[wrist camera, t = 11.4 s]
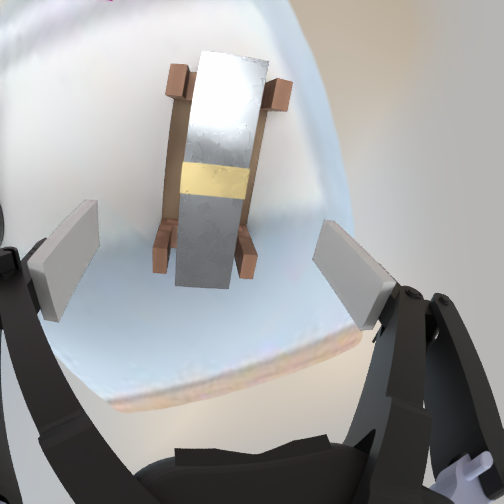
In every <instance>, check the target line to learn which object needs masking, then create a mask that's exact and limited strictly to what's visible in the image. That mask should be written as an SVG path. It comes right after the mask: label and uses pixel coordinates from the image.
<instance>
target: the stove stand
mask: <svg viewBox="0 0 504 504" xmlns="http://www.w3.org/2000/svg"><path fill="white" fill-rule="evenodd" d="M196 78H197V72H190V71H189V67H188V65H185V64H171V65H170V70H169V76H168V81H167V87H166V93H165V95H166V96H169V97H171V98H173V99H174V103H173V110H172V117H171V124H170V131H169V140H168V148H167V158H166V168H165V179H164V192H163V207H162V220H161V223H160V226H159V229H158V232H157V236H156V239H155V242H154V245H153V273H163V274H166V273H167V267H168V261H169V255H170V250H171V248H177V234H178V219H179V206H180V195H181V193H180V183H181V173H182V164H183V160H184V157H185V149H186V141H187V133H188V126H189V120H190V113H191V107H192V101H193V95H194V89H195V83H196ZM292 84H293V82H292V81H287V80H283V79H279V78H276V79H274V80H271V81H269V82H267V83H265V85H264V90H263V95H262V100H261V106H260V111H259V116H258V122H257V127H256V132H255V138H254V143H253V149H252V154H251V160H250V165H249V168H250V173H249V178H248V184H247V190H246V195H245V199H244V200H243V205H242V211H241V217H240V223H239V229H238V235H237V241H236V247H235V253H234V257H235V261H236V266H237V270H238V274H239V278H243V279H253V276H254V271H255V266H256V261H257V257H258V255H257V252H256V250H255V247H254V244H253V242H252V239H251V237H250V234H249V231H248V229H247V226H246V224H247V219H248V213H249V208H250V202H251V197H252V191H253V186H254V180H255V175H256V169H257V164H258V159H259V153H260V148H261V143H262V137H263V132H264V127H265V122H266V117H267V111H286V112H287V110H288V105H289V100H290V95H291V89H292Z"/></svg>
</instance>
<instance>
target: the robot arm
mask: <svg viewBox="0 0 504 504" xmlns="http://www.w3.org/2000/svg"><path fill="white" fill-rule="evenodd" d="M3 231H4V223H3V215H2V210H1V206H0V245H1V242H2V238H3ZM99 246H100V241H99V227H98V206H97V201H96V200H85V201H84V202H83V203H82V204H81V205H80V206H79V207H78V208H76V209H75V210H74V211H73V212H72V213H71V214H70V215H69V216H68V217H67V218H66V219H65V220H64V221H63V222H62V223H61V224H60V225H59V227H58V228H57V229H56V230H55V231H54V232H53V233H52V234H51V235H50V236H49V237H48V238H44V239H42V240H41V241H39V242H37V243H36V244H35V246H34V247H33V248H32V249H31V250H30V251H29V252H28V254H26V256H25V257H24V258H23V259H22V260H21V261H20V257H19V253H18V250H17V248H15V247H4V248H1V249H0V504H23V502H22V497H21V493H20V490H19V486H18V482H17V479H16V475H15V471H14V468H13V463H12V459H11V455H10V451H9V445H8V440H7V434H6V428H5V421H4V413H3V404H2V391H1V334H2V333H1V332H2V330H4V334H5V338H6V342H7V346H8V350H9V354H10V358H11V361H12V364H13V368H14V370H15V374H16V377H17V380H18V382H19V385H20V388H21V391H22V394H23V396H24V399H25V401H26V404H27V407H28V409H29V411H30V413H31V416H32V418H33V421H34V423H35V425H36V427H37V429H38V432H39V434H40V437H39V438H38V440H39V444H40V446H41V448H42V450H43V452H44V454H45V456H46V458H47V460H48V461H49V463H50V465H51V467H52V468H53V470H54V472H55V473H56V475H57V477H58V478H59V480H60V482H61V483H62V485H63V486H64V488H65V489H66V491H67V492H68V494H69V495H70V497H71V498H72V499H73V501H74V502H75V504H489V503H491V502H493V501H495V500H496V499H498V498H500V497H501V496H503V495H504V429H503V427H502V423H501V420H500V416H499V413H498V409H497V406H496V403H495V400H494V397H493V393H492V390H491V387H490V385H489V382H488V380H487V376H486V374H485V371H484V368H483V366H482V363H481V361H480V359H479V356H478V354H477V352H476V349H475V347H474V344H473V342H472V340H471V338H470V336H469V333H468V331H467V329H466V327H465V325H464V323H463V321H462V319H461V317H460V315H459V313H458V311H457V309H456V307H455V305H454V303H453V302H452V301H451V300H450V299H449V297H448V296H446V295H444V294H440V293H435V294H434V295H433V297H432V299H431V301H429V300H424V298H423V296H422V294H421V293H420V292H419V291H417V290H416V289H414V288H412V287H409V286H401V285H400V284H399V283H398V282H397V281H396V280H395V279H394V278H393V277H392V276H391V275H389V273H388V272H387V271H386V270H385V269H384V268H383V267H382V266H381V265H380V264H379V263H378V262H377V261H376V260H375V259H374V258H372V256H371V255H370V254H369V253H368V252H367V251H366V250H365V249H364V248H362V246H360V245H359V244H358V243H357V242H356V241H355V240H354V239H353V238H352V237H351V236H350V235H349V234H348V233H347V232H346V231H345V230H344V229H343V228H342V227H341V226H340V225H338V224H337V223H336V222H335V221H331V220H324V221H323V225H322V228H321V232H320V235H319V239H318V242H317V245H316V249H315V252H314V255H313V259H312V260H313V261H314V262H315V264H316V265H317V267H318V268H319V270H320V271H321V273H322V274H323V275H324V277H325V278H326V280H327V281H328V283H329V284H330V286H331V287H332V289H333V290H334V292H335V293H336V295H337V296H338V297H339V299H340V300H341V302H342V303H343V305H344V306H345V308H346V310H347V311H348V313H349V314H350V316H351V317H352V319H353V320H354V322H355V323H356V325H357V326H358V328H359V329H360V331H362V330H372V329H373V328H374V326H375V324H376V322H377V320H379V321H380V322H381V324H382V325H381V327H380V329H379V331H378V332H377V334H376V336H375V338H374V339H373V341H372V342H373V343H374V342H375V341H376V343H375V347H374V351H373V355H372V359H371V363H370V367H369V370H368V374H367V377H366V381H365V384H364V388H363V391H362V394H361V397H360V400H359V403H358V406H357V409H356V412H355V415H354V418H353V421H352V423H351V426H350V429H349V432H348V434H347V436H346V439H345V440H344V442H343V444H339V443H330V442H329V440H328V437H327V435H326V434H325V435H321V436H316V437H311V438H306V439H300V440H294V441H292V442H289V443H287V444H285V445H282V446H279V447H277V448H274V449H272V450H269V451H266V452H264V453H261V454H246V453H239V452H233V451H226V450H220V449H215V448H214V449H181V448H179V449H178V448H175V457H170V458H165V459H162V460H159V461H156V462H154V463H152V464H149V465H148V466H146V467H144V468H142V469H141V470H140V471H138V472H137V473H136V474H135V475H134V476H133V475H132V474H131V472H130V471H129V470H128V469H127V468H126V466H125V465H124V464H123V463H122V462H121V461H120V459H119V458H118V457H117V455H116V454H115V453H114V452H113V450H112V449H111V448H110V446H109V445H108V444H107V442H106V441H105V440H104V438H103V437H102V436H101V434H100V433H99V431H98V430H97V428H96V427H95V426H94V424H93V423H92V421H91V420H90V418H89V417H88V415H87V414H86V412H85V411H84V409H83V408H82V406H81V405H80V403H79V401H78V399H77V398H76V396H75V394H74V393H73V391H72V389H71V387H70V385H69V384H68V382H67V380H66V378H65V376H64V374H63V372H62V370H61V368H60V366H59V365H58V362H57V360H56V358H55V356H54V354H53V352H52V350H51V347H50V345H49V343H48V341H47V338H46V336H45V334H44V331H43V329H42V326H41V324H40V321H39V319H38V316H37V314H38V312H39V310H40V309H41V312H42V315H43V318H44V320H48V321H53V322H59V321H60V319H61V317H62V315H63V313H64V311H65V308H66V306H67V304H68V302H69V300H70V298H71V296H72V294H73V292H74V291H75V289H76V287H77V285H78V283H79V281H80V279H81V277H82V276H83V274H84V272H85V270H86V268H87V267H88V265H89V263H90V261H91V260H92V258H93V256H94V254H95V253H96V251H97V249H98V248H99ZM438 332H439V333H438ZM437 334H438V336H437V338H436V339H435V337H436V335H437ZM423 401H424V404H425V409H424V408H423ZM429 445H430V455H431V465H432V470H433V475H434V478H435V482H436V483H435V484H433V485H432V486H431V487H430V488H427V487H425V486H423V485H422V484H423V479H424V474H425V469H426V464H427V457H428V451H429Z"/></svg>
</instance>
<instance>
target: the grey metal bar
mask: <svg viewBox="0 0 504 504" xmlns="http://www.w3.org/2000/svg"><path fill="white" fill-rule="evenodd" d="M268 65H269V61H265V60H260V59H255V58H250V57H244V56H238V55H231V54H224V53H217V52H208V51H202V53H201V57H200V62H199V67H198V72H197V78H196V83H195V89H194V95H193V101H192V107H191V113H190V120H189V126H188V133H187V141H186V149H185V157H184V160H183V164H182V173H181V183H180V193H181V195H180V206H179V219H178V234H177V251H176V275H175V286H184V287H200V288H218V289H229V284H230V278H231V272H232V265H233V259H234V253H235V247H236V241H237V235H238V229H239V223H240V217H241V211H242V205H243V200H244V199H245V195H246V190H247V184H248V178H249V173H250V168H249V165H250V160H251V154H252V149H253V143H254V138H255V132H256V127H257V122H258V116H259V111H260V106H261V100H262V95H263V90H264V85H265V80H266V75H267V70H268Z"/></svg>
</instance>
